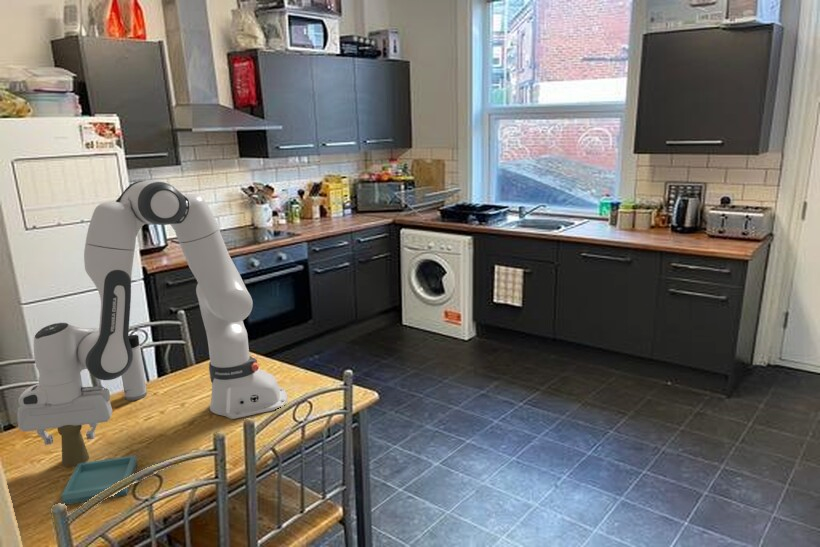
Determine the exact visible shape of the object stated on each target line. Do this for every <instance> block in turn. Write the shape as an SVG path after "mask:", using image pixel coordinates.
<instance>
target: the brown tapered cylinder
mask: <svg viewBox="0 0 820 547" xmlns="http://www.w3.org/2000/svg"><path fill="white" fill-rule="evenodd" d="M82 427H83V425H76V426H73V425H65V426H62V427H59V428H57V432H58V434H59V435H60V436H61V464H62V466H63V467H64V466H66V467H65V468H74V467H73V466H75V467H76V466H77V464H78V463H84V462H88V460H90V456H89V452H88V449H87V446H86V444H85V441H84V438H83V435H82V432H81V430H82Z"/></svg>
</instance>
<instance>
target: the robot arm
mask: <svg viewBox="0 0 820 547" xmlns="http://www.w3.org/2000/svg"><path fill="white" fill-rule="evenodd" d="M144 225H157V226H158V225H159V226H164V225H165V226H167V225H170V226H171V228H172V229H173V230H174V232H175V235H176V239H177V240H178V243H179V246H180V249H181V251H182V254H183V255H184V258H185V260H186V264H187V265H188V267H189V269H190V271H191V273H192V275H193V276H194V278H195V280H196V282H197V284H196V288H195V292H196V297H197V299H198V300H197V301H198V304H199V309H200V314H201V317H202V322H203V326H204V330H205V334H206V338H207V344H208V346H207V347H208V355H209V364H208V372H209V380H210V381H211V397H210V405H209V410H210V412H212V413H213V414H215V415H219V416H223V417H226V418H227V419H230V420H235V419H240V418H245V417H249V416H252V415H253V416H254V415H257V414H263V413H267V412H271V411H275V409H276V410H278V409H277V408H279V407H281V406H283V405H284V404H285V403H286V402H288V395H287V391H286V390H285V389H284V388H283V387H282V386H279V384H278V381H277V378H276V377H275V376H274V375H273V374H271V373H269V372H267V371H265V370H263V369H261V368H259V365H260V364H258V360H257V357H256V356H255V355H254V356H251V355H250V349H249V338H248V332H247V329H246V327H245V324H244V320H245V319H247V317H248V316H250V314H251V312H252V310H253V305H254V303H253V299H252V296H251V294H250V292H249V291H248V289H247V287H246V285H245V283H244V281H243V279H242V276H241V274H240V272H239V271H238V268H237V267H236V265H235V263H234V261H233V259H232V258H231V255H230V253H229V251H228V248H227V245H226V243H225V240H224V238H223V235H222V233H221V232H222V231H221V230H220V228H219V225H218V222H217V221H216V218H215V216H214V214H213V212H212V210H211V208H210V207H209V205H208V204H207V202H206V200H205V199H204V198H203V197H202V196H200V195H198V194H193V193H192V194H190V193H188V194H187V193H186V194H183V193H181V192H180V191H179V190H178V189H177V188H176V187H174V186H173V185H172V184H169V183H168V182H164V181H158V180H151V179H149V180H147V179H146V180H139V181H135V182H133V183H131V184H130V185H129V186H127V187H126V188H125V189H124V191H123V192H122V193H121V195H119V196H118V198H117V199H116V201H106V202H102V203H100V204H98V205H97V206H96V207H95V208H94V211H93V212H92V215H91V219H90V221H89V225H88V229H87V233H86V239H85V244H84V250H83V251H84V252H83V257H84V258H83V262H84V270H85V272H86V274H87V276H88V277H89V278H90V280H91V281H92V282H93V284H94V285H95V288H96V289H97V292H98V294H99V297H100V313H99V327H92V328H91V327H90V328H88V327H79V326H74V325H71V324H69V323H67V322H57V323H52V324H49V325H46V326H44V327H42V328H40V330H38V331H37V332H36V334H35V335H34V337H33V356H34V363H35V368H36V369H37V371H38V374H39V376H38V383H36V384H33V385H31V386H29V387H27V388H26V389H25V390H24V391H23V392H22V393H21V395H20V396H19V397H18V399H17V400H18V405H20V406H19V407H18V409H17V417H16V418H17V426H18V429H19V430H21V431H22V432H33V431H36V434H37V435H38V436H39V437H40V438H41V439H42V440H43V443H44V445H45V446H47V445H53V443H54V435H53V434H49V433H48V432H47V431H46V430H49V429H50V430H51V429H58V428H59V427H62V426H65V425H73V426H76V425H82V426H83V425H84V426H85V425H89V428H91V429H90V430H89V429H88V430H87V432H86V434H85V435H86V440H94V439H95V437H96V433H95V431H96V428H97V427H98V424H100V423H107V422H108V421H109V420H110V419H111V418H112V416H113V409H112V403H111V401H110V399H111V394H110V389H108V388H107V387H105V386H102V385H96V386H95V385H94V386H85V387H84V386H83V381H82V376H81V375H82V374H81V372H82V371H84V370H88V372H89V373H90V374H91V375H92V376H93V377H95V378H96V379H98V380H101V381H111V380H115V379H118V378H119V377H120V378H121V377H122V376H121V375H123V374H124V373H125V372H126V371H127V370H128V369H129V367H130V366H131V363H132V360H133V352H132V348H131V345H130V342H129V336H130V334H129V333H130V332H129V331H130V330H129V329H130V317H131V303H132V301H131V298H132V274H133V273H132V272H133V264H134V258H135V252H136V251H135V249H136V242H137V237H138V234H139V231H140V230H141V229H142V227H143V226H144ZM286 404H287V403H286Z"/></svg>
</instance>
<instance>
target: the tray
mask: <svg viewBox="0 0 820 547" xmlns="http://www.w3.org/2000/svg"><path fill="white" fill-rule="evenodd" d="M137 459H138V458H137V454H134V455H128V456H119V457H113V458H105V459H99V460H93V461H86V462H84V463H78V464H77V466H75V468H74V470H73V472H72V473H71V476H70V478H69V480H68V482H67V484H66V486H65V487H64V489H63V491H62V494H61V500H62V504H63V503H65V504H68V505H73V504H74V505H75V504H80V503H79V502H81V503H85V502H84V501H87V500H89V499H91V498H92V497H94V496H95V495H97V494H99V493H100V492H102V491H104V490H105V489H107V488H109V487H111V486H112V485H113V484H115V483H117V482H118V481H121V480H123V479H125V478H127V477H129V476H130V475H132V474H133V473H134V472H135V473H136V470H137V467H138V460H137ZM135 469H136V470H135ZM135 473H134V474H135ZM129 490H130V487H127V488H125V489H123V490H121V491H120V492H118V493H117V494H115V495H114V496H116V497H115V498H118V497H117V496H119V497H124V495H125V496H128V492H129ZM111 497H112V498H114V497H113V496H111ZM111 497H110V498H111ZM110 498H109V499H110ZM87 502H88V501H87Z"/></svg>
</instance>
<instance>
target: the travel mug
mask: <svg viewBox="0 0 820 547" xmlns="http://www.w3.org/2000/svg"><path fill="white" fill-rule="evenodd" d="M129 342H130V345H131V348H132V352H133V360H132V363H131V366H130V367H129V369H128V370H127V371H126V372H125V373H124V374H123V375H121V376H120V377H121V382H122V388H123V394H124V399H125V400H127V401H137V400H140V399H143V398H145V397H146V396H147V394H148V393H147V386H146V385H147V384H146V378H145V372H144V365H143V359H142V358H143V357H142V352H141V350H142V349H141V346H140V345H141V344H140V340H139V335H138V334H131V335H129Z"/></svg>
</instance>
